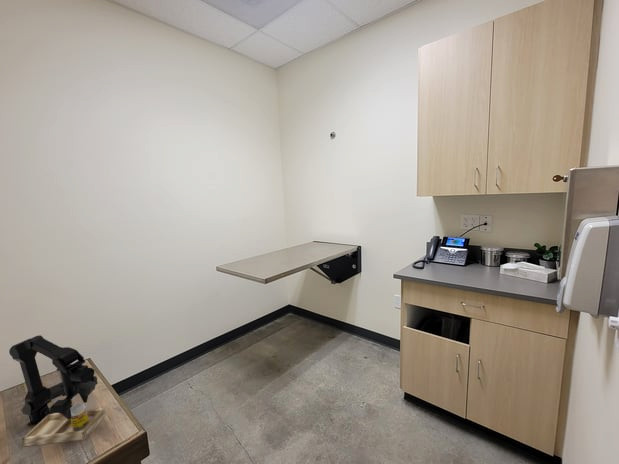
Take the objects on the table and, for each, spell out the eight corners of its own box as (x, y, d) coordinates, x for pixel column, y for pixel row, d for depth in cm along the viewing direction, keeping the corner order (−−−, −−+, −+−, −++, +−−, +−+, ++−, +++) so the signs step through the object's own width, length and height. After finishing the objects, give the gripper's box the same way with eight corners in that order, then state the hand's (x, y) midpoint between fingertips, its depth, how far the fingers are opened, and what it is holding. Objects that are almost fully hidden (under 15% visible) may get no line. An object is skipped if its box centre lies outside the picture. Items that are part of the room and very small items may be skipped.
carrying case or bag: (78, 377, 158) (43, 393, 146) (77, 373, 158) (42, 388, 146) (83, 385, 152) (48, 402, 140) (82, 380, 151) (46, 396, 140)
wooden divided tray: (23, 446, 115) (21, 439, 114) (50, 420, 128) (48, 414, 127) (85, 439, 116) (84, 432, 116) (105, 414, 129) (104, 408, 129)
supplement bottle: (71, 433, 118) (67, 413, 117) (74, 424, 123) (69, 405, 121) (88, 427, 121) (83, 406, 120) (89, 418, 126) (85, 399, 124)
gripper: (73, 392, 110) (81, 426, 112) (104, 363, 128) (110, 392, 131) (44, 395, 109) (52, 429, 112) (79, 365, 128) (86, 395, 130)
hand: (77, 410), depth 121 cm, fingers open, 9 cm apart
